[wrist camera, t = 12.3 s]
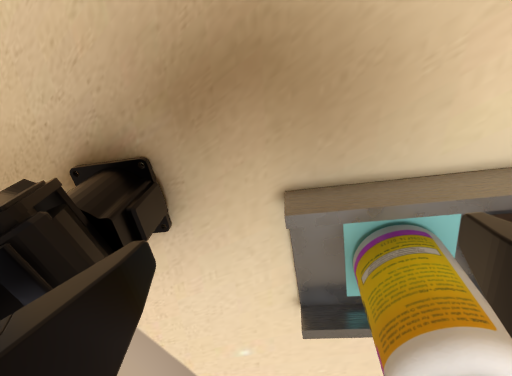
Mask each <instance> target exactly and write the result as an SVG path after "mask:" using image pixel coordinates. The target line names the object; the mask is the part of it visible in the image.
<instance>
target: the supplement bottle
mask: <svg viewBox="0 0 512 376" xmlns="http://www.w3.org/2000/svg"><path fill="white" fill-rule="evenodd" d="M353 269H354V274H355V278H356V281H357V285H358V288H359V292H360V295H361V298H362V302H363V305H364V309H365V312H366V315H367V319H368V323H369V326H370V330H371V333H372V336H373V340H374V343H375V347H376V350H377V354H378V357H379V361H380V364H381V368H382V371H383V375H384V376H512V338H511V337H510V335H509V334H508V332H507V331H506V329H505V328H504V326H503V325H502V323H501V322H500V320H499V319H498V317H497V316H496V314H495V313H494V311H493V309H492V308H491V306H490V305H489V304H488V302H487V301H486V300H485V298H484V297H483V295H482V294H481V293H480V291H479V290H478V289H477V288H476V286H475V285H474V284H473V282H472V281H471V280H470V278H469V277H468V276H467V274H466V273H465V272H464V270H463V269H462V268H461V266H460V265H459V264H458V262H457V261H456V260H455V258H454V257H453V256H452V254H451V253H450V252H449V250H448V249H447V248H446V247H445V245H444V244H443V243H442V241H441V240H440V239H439V238H438V237H437V236H436V235H435V234H433V233H432V232H430V231H428V230H427V229H424V228H422V227H418V226H414V225H393V226H388V227H385V228H382V229H380V230H377V231H375V232H374V233H372V234H370V235H369V236H368V237H366V238H365V239H364V240H363V241H362V243H361V244H360V245H359V247H358V248H357V250H356V252H355V254H354V259H353Z"/></svg>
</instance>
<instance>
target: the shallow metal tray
mask: <svg viewBox="0 0 512 376" xmlns="http://www.w3.org/2000/svg"><path fill="white" fill-rule="evenodd" d="M474 212H483V213H486V214H489V215H496V214H508V213H512V168H502V169H493V170H483V171H474V172H464V173H455V174H446V175H436V176H427V177H417V178H408V179H399V180H389V181H380V182H370V183H361V184H352V185H342V186H333V187H323V188H314V189H305V190H295V191H286V192H285V222H286V229H290V235H291V242H292V249H293V256H294V263H295V270H296V277H297V283H298V290H299V297H300V304H301V322H302V335H303V339H320V338H361V337H373V336H372V333H371V330H370V326H369V323H368V319H367V315H366V312H365V309H364V305H363V302H362V298H361V295H360V292H359V288H358V285H357V281H356V278H355V274H354V269H353V259H354V254H355V252H356V250H357V248H358V247H359V245H360V244H361V243H362V241H363V240H364V239H365V238H366V237H368V236H369V235H370V234H372V233H374V232H375V231H377V230H380V229H382V228H385V227H388V226H393V225H414V226H418V227H422V228H424V229H427V230H428V231H430V232H432V233H433V234H435V235H436V236H437V237H438V238H439V239H440V240H441V241H442V243H443V244H444V245H445V247H446V248H447V249H448V250H449V252H450V253H451V254H452V256H453V257H454V258H455V260H456V261H457V262H458V264H459V265H460V266H461V268H462V269H463V270H464V272H465V273H466V274H467V276H468V277H469V278H470V280H471V281H472V282H473V284H474V285H475V286H476V288H477V289H478V290H479V291H480V293H481V294H482V295H483V293H482V291H481V289H480V287H479V285H478V283H477V281H476V279H475V277H474V275H473V273H472V271H471V269H470V267H469V265H468V263H467V261H466V259H465V257H464V255H463V253H462V251H461V249H460V247H459V243H458V237H459V230H460V224H461V218H462V216H463V215H464V214H465V213H474ZM483 297H484V298H485V296H484V295H483ZM485 300H486V298H485ZM486 301H487V300H486ZM487 302H488V301H487ZM488 304H489V303H488Z"/></svg>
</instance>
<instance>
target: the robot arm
mask: <svg viewBox="0 0 512 376" xmlns="http://www.w3.org/2000/svg"><path fill="white" fill-rule="evenodd" d="M140 162H142V163H144V166H142V165H141V164H140ZM76 171H77V172H78V173H79V174H77V172H76ZM70 175H71V177H72V179H73V181H74V183H75V185H76V187H75V188H73V189H72V190H70V191H69V192H67V193H66V192H65V191H64V190H63V188H62V187H61V186H62V184H61V183H60V182H59V180H58V179H57V178H54V179H52V180H50V181H48V182H46V183H45V181H44V180H43V181H41V182H39V183H34V182H31V181H29V180H26V179H23V180H21V181H19V182H17V183H16V184H14V185H12V186H10V187H8V188H6V189H4V190H2V191H0V376H117V374H118V371H119V369H120V367H121V364H122V362H123V359H124V357H125V354H126V352H127V349H128V347H129V345H130V342H131V340H132V337H133V335H134V332H135V330H136V328H137V325H138V323H139V320H140V318H141V315H142V312H143V309H144V306H145V303H146V299H147V296H148V293H149V289H150V286H151V283H152V279H153V276H154V272H155V269H156V261H155V258H154V256H153V253H152V251H151V248H150V246H149V244H148V242H147V241H148V239H149V238H150V236H151V235H152V233H158V232H167V231H168V230H169V229H170V228H171V222H170V219H169V216H168V213H167V212H168V209H167V206H166V203H165V200H164V197H163V194H162V192H161V189H160V186H159V184H158V183H157V182H156V179H155V176H154V173H153V171H152V168H151V165H150V162H149V160H148V159H146V158H144V157H139V158H132V159H124V160H117V161H110V162H102V163H95V164H88V165H80V166H75V167H73V168H72V169H71V170H70ZM163 224H164V225H166V226H167V227H165V226H163ZM458 243H459V247H460V249H461V251H462V253H463V255H464V257H465V259H466V261H467V263H468V265H469V267H470V269H471V271H472V273H473V275H474V277H475V279H476V281H477V283H478V285H479V287H480V289H481V291H482V293H483V295H484V296H485V298H486V300H487V301H488V303H489V305H490V306H491V308H492V309H493V311H494V313H495V314H496V316H497V317H498V319H499V320H500V322H501V323H502V325H503V326H504V328H505V329H506V331H507V332H508V334H509V335H510V337H511V338H512V223H511V222H508V221H506V220H503V219H500V218H497V217H495V216H492V215H489V214H486V213H483V212H474V213H465V214H464V215H463V216H462V218H461V224H460V230H459V237H458Z"/></svg>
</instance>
